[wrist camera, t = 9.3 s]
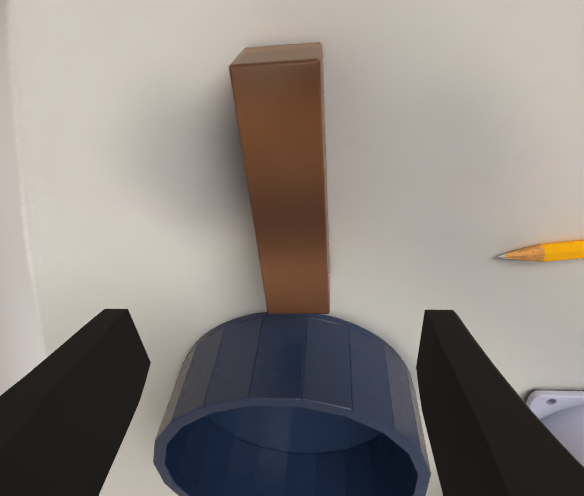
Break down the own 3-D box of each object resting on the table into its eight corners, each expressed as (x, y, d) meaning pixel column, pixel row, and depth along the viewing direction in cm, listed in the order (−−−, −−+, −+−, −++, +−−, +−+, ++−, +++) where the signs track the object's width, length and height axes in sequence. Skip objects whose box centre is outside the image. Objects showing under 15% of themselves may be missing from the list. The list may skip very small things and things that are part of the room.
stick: (243, 47, 14) (227, 65, 12) (322, 41, 13) (320, 58, 11) (274, 275, 19) (267, 314, 17) (329, 274, 19) (329, 314, 17)
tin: (425, 310, 20) (448, 402, 16) (403, 455, 28) (415, 541, 24) (156, 310, 21) (115, 394, 17) (208, 448, 29) (188, 527, 25)
